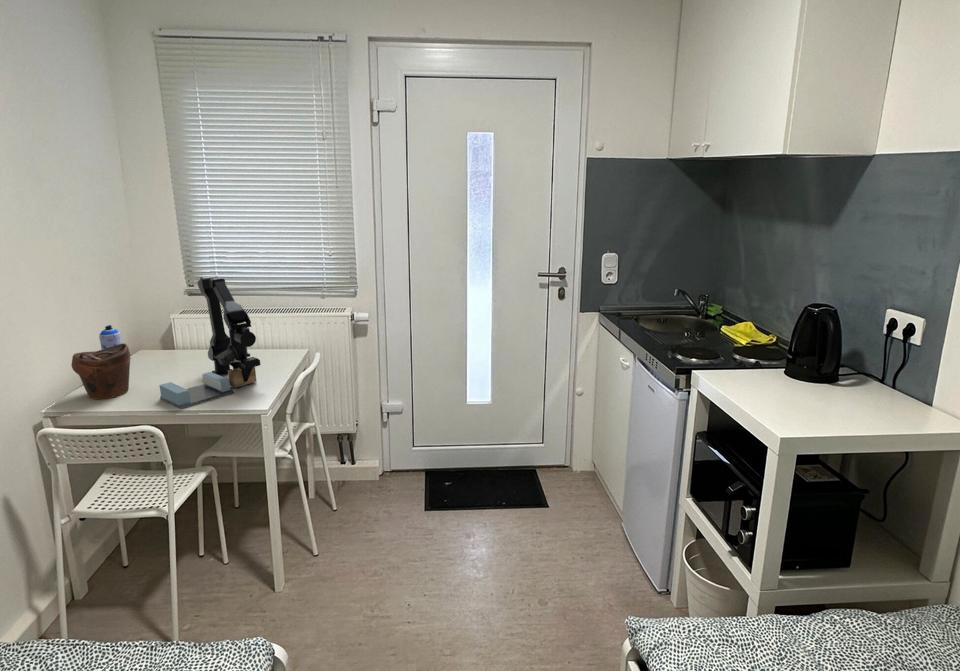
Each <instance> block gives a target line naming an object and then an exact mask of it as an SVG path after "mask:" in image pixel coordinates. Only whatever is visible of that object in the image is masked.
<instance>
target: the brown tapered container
mask: <svg viewBox="0 0 960 671" xmlns="http://www.w3.org/2000/svg"><path fill="white" fill-rule="evenodd" d="M131 359H132V358H131V351H130V349H129V345H127V343H125V342H124V343H123V342H122V344H119V345H117V346H113V347H109V348H106V349H103V350H101V349H99V350H98V351H97V350H96V351H95V350H94V351H84V352H83V351H82V352H75V353H73V355H72V358H71V368H72V371H73V372H75V373H76V374H77V375H78V376H79V378H80V380H81V383H82V385H83V387H84V390H85V392H86V394H87V397H88V398H90V399H93V400H105V399H112V398H115V397H120V396H123V395H124V394H126V393H127V392H128V391H129V386H130V385H129V384H130V369H131V368H130V367H131Z"/></svg>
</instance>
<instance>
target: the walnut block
mask: <svg viewBox="0 0 960 671" xmlns="http://www.w3.org/2000/svg"><path fill="white" fill-rule="evenodd" d="M231 369H232V370H228V373H227V375H228V376H227V377H228V379H229V384H230V387H233V388H235V389H236V388H239V387H242V386H246V385H250V384H253V383H257V372H256V367H253V369H252V371H251V373H250V376H249V378H248V381H247V382H244V379H243V375H242V371H241V369H240V368H236V369H233V368H231Z"/></svg>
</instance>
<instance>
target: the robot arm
mask: <svg viewBox="0 0 960 671" xmlns="http://www.w3.org/2000/svg"><path fill="white" fill-rule="evenodd" d="M197 287H198V289H199V291H200V294H201V295H202V296H203V297H204V298H205V299H206V303H207V308H208V310H207V311H208V314H209V316H208V317H209V321H210V326H211V332H212V336H211V338H210V340H209V349H208V351H207V357H208V359H209V360H211V361H213V365H214V370H211V372H212V373H214V374H217V375H219V376H222V375H226V374H228V370H232V369H236V368H240V369H241V371H242V375H243V379H244V382H247V381H248V378H249V376H250V373H251V371H252V369H253V367H255V368H256V367H259V366H261V360H260V359H259V358H258V357H255V356H251V353H249V351H248V348H249V347H252V346H254V344H255V343H256V342H257V341H256V340H257V336H256V335H255V333H254V332H252V331H250V330H251V329H250V328H251V327H252V324H251V323H252V321H251V319H250V316H249V314H248V313H247V311H246V310H245V308H244V307H243V306H242V305H241V304H239V303H237V302H236V301H235V299H234V297H233V296H232V294H231V292H230V290H229V288H228V286H227V284H226V280H225V278H224V277H221V276H220V277H219V275H216V274H215V275H209V276H201V277H200V278H199V280H197ZM221 307H222V308H223V312H222V308H221ZM224 322H225V324H224ZM225 325H226V327H227V329H228V334H227V333H226V329H225ZM228 335H229V336H228ZM231 367H232V368H231Z"/></svg>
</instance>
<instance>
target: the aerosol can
mask: <svg viewBox="0 0 960 671" xmlns="http://www.w3.org/2000/svg"><path fill="white" fill-rule="evenodd" d="M99 342H100V343H99V344H100V350H103V349H106V348H109V347H113V346H117V345H119V344H123V342H122V335H121V332H120V331H119V330H118V329H116V328H114V327H113V326H112V325H111V324H109V325H106V326H105V328H104V329H103V330H102V331H100V333H99Z"/></svg>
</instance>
